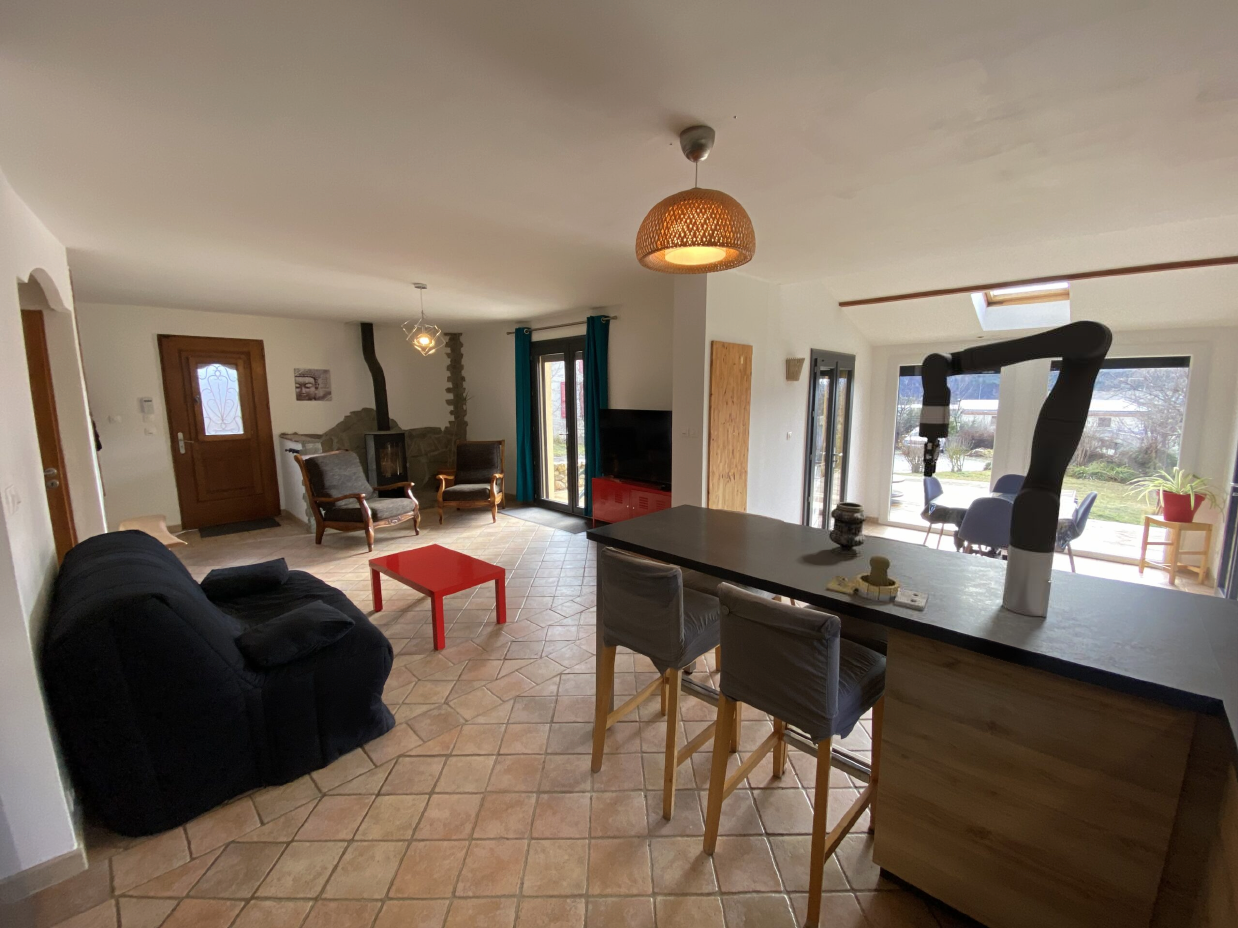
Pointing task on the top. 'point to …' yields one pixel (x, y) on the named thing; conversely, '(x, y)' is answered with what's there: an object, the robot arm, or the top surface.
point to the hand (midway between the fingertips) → (929, 475)
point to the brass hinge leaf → (863, 585)
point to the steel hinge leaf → (899, 598)
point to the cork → (879, 571)
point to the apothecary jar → (848, 528)
